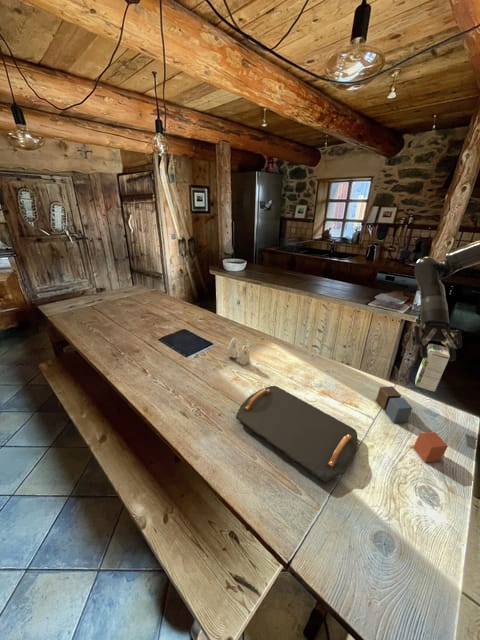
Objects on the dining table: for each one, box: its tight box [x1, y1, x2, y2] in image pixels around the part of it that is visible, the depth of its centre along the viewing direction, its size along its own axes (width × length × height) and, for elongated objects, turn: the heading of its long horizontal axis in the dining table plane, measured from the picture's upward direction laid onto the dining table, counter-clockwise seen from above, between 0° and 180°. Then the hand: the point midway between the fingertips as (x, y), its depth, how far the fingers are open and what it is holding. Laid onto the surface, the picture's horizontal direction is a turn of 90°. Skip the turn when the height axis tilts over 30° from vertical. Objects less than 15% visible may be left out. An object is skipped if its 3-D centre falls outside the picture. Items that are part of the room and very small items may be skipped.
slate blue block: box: [384, 397, 413, 424], centre depth 93 cm, size 5×5×6 cm
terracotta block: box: [413, 431, 449, 463], centre depth 80 cm, size 5×5×6 cm
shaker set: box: [225, 337, 251, 365], centre depth 122 cm, size 12×4×11 cm, turn 52°
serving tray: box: [235, 385, 359, 483], centre depth 87 cm, size 39×23×6 cm, turn 48°
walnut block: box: [375, 385, 402, 411], centre depth 98 cm, size 5×5×6 cm
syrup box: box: [415, 343, 450, 392], centre depth 88 cm, size 6×6×14 cm
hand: (438, 359), depth 85 cm, fingers closed on syrup box, 7 cm apart
